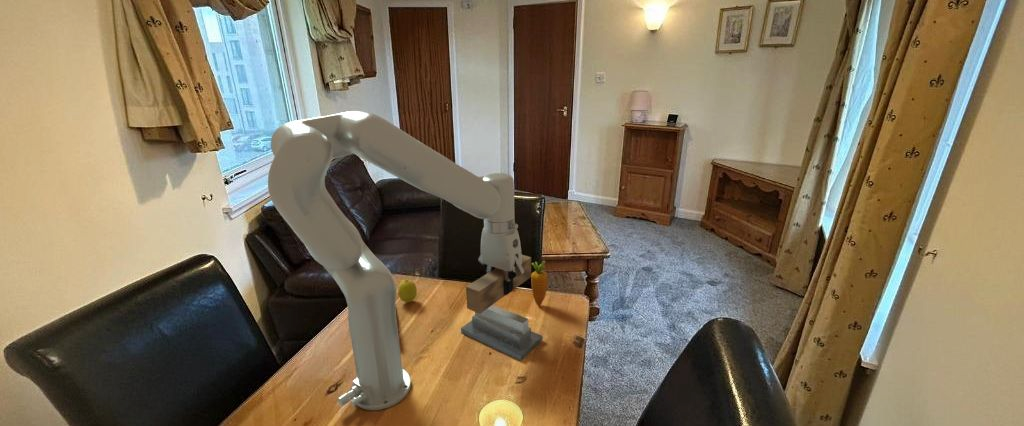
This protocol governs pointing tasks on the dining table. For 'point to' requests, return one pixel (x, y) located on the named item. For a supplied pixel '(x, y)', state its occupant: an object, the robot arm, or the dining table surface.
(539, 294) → the carrot
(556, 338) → the dining table surface
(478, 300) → the walnut beam
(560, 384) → the dining table surface
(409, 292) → the lemon
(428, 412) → the dining table surface
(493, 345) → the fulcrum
